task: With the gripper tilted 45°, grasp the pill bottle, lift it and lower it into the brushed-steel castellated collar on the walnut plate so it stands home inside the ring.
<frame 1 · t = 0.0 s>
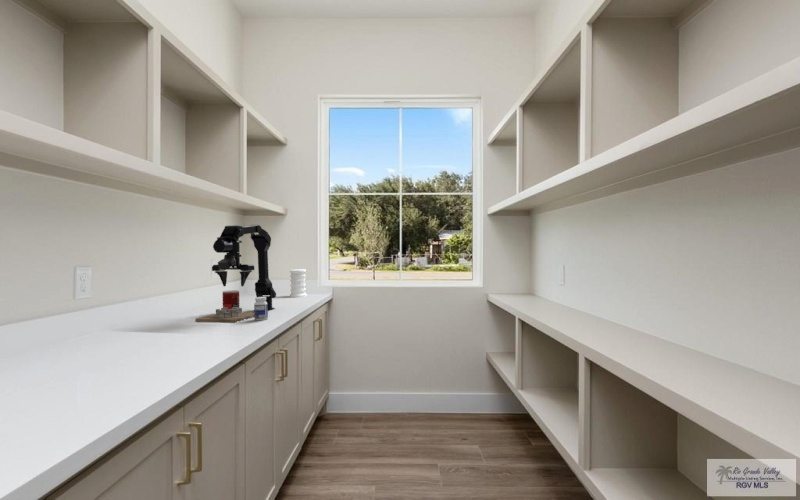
hand: (233, 286, 194), 15 cm above the worktop, tool pointing down, fingers open, 9 cm apart
nut base: (229, 318, 194), on the worktop
canned food: (231, 313, 212), on the worktop
pill bottle: (261, 319, 189), on the worktop
decorative container: (298, 296, 286), on the worktop
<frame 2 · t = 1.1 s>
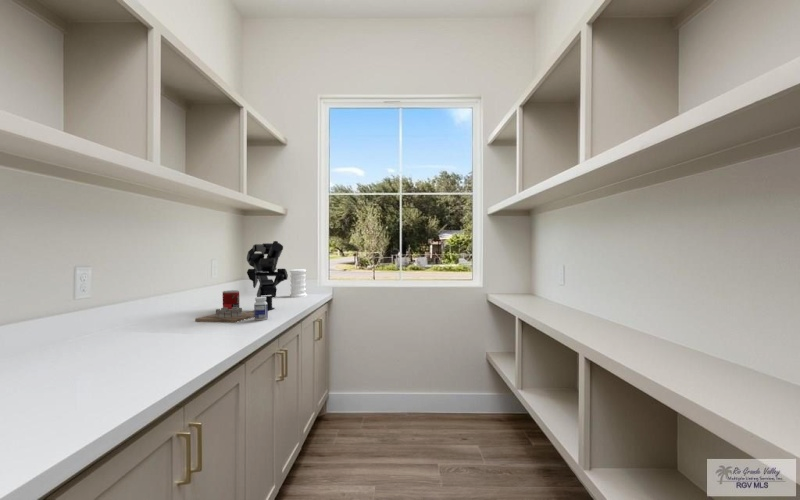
hand: (263, 287, 200), 13 cm above the worktop, tool tilted 45°, fingers open, 9 cm apart
nothing on the worktop moved.
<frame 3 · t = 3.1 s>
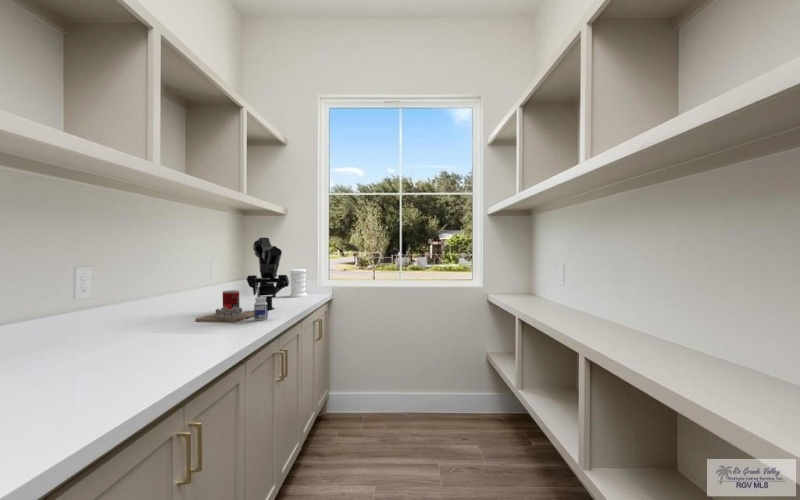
hand: (264, 294, 193), 11 cm above the worktop, tool tilted 45°, fingers open, 9 cm apart
nothing on the worktop moved.
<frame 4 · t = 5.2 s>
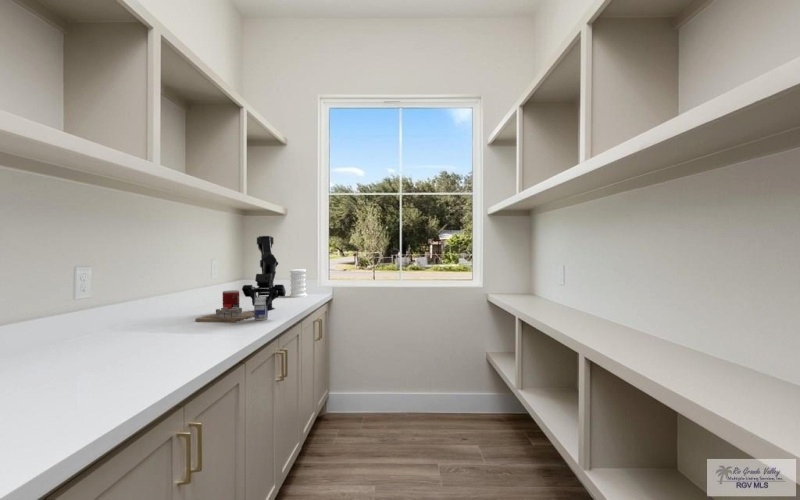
hand: (259, 305, 188), 7 cm above the worktop, tool tilted 45°, fingers closed on pill bottle, 6 cm apart
pill bottle: (261, 319, 189), on the worktop, touching gripper
everything else where it was.
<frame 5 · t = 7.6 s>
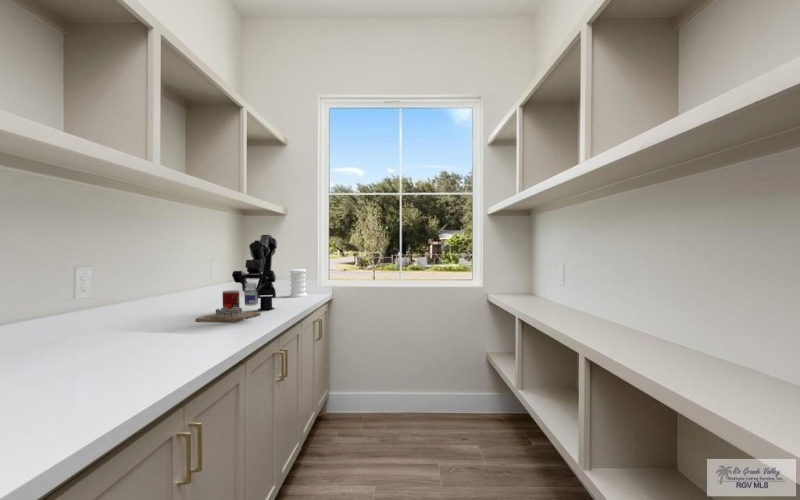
hand: (249, 290, 189), 13 cm above the worktop, tool tilted 45°, fingers closed on pill bottle, 6 cm apart
pill bottle: (251, 305, 191), point 6 cm above the worktop, touching gripper
everything else where it was.
when the fingers open (9 cm above the worktop, at t = 10.3 s): pill bottle drops 1 cm, resting on nut base.
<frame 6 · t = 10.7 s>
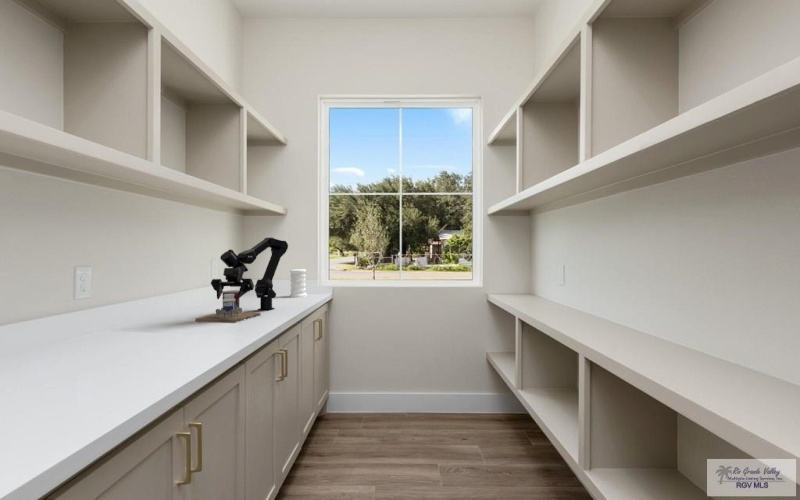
hand: (227, 298, 192), 9 cm above the worktop, tool tilted 45°, fingers open, 9 cm apart
pill bottle: (229, 316, 194), point 1 cm above the worktop, touching nut base
everything else where it was.
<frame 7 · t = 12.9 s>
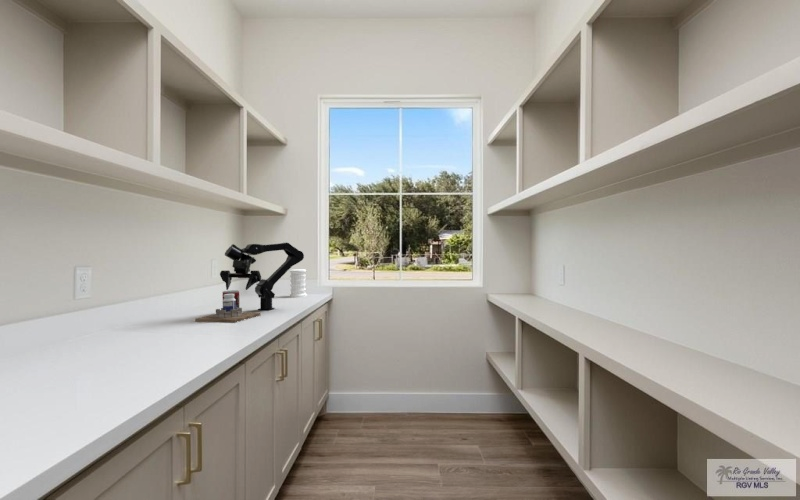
hand: (236, 289, 202), 13 cm above the worktop, tool tilted 45°, fingers open, 9 cm apart
nothing on the worktop moved.
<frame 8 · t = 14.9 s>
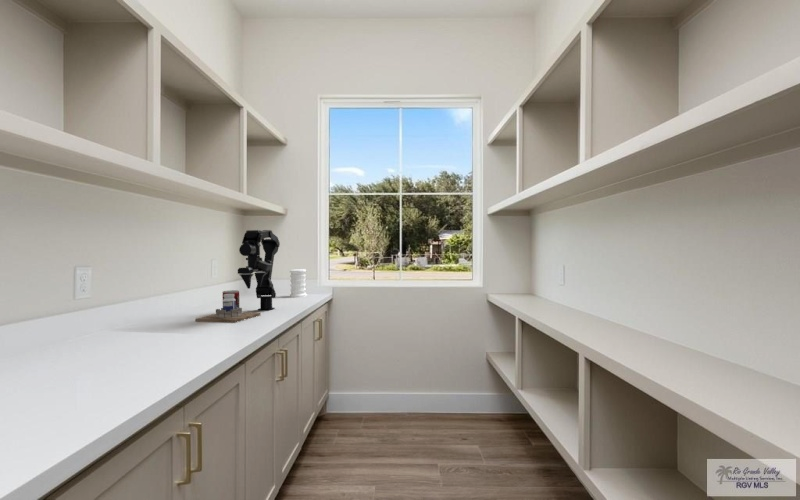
hand: (254, 287, 205), 13 cm above the worktop, tool pointing down, fingers open, 9 cm apart
nothing on the worktop moved.
at the end: pill bottle 0.2 cm off-centre on the nut base, point 1.0 cm above the nut base's base; pill bottle tilted 0°; the gripper is holding nothing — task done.
